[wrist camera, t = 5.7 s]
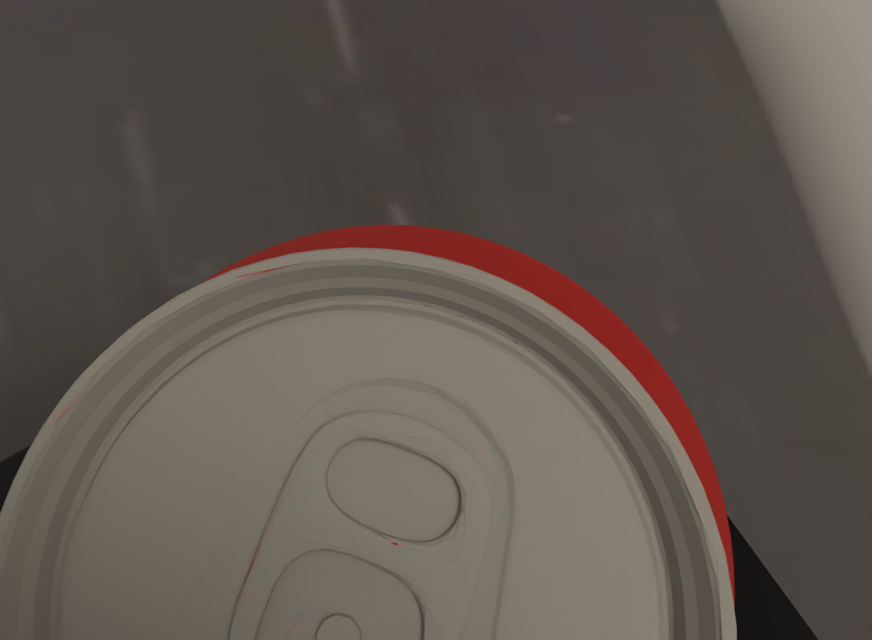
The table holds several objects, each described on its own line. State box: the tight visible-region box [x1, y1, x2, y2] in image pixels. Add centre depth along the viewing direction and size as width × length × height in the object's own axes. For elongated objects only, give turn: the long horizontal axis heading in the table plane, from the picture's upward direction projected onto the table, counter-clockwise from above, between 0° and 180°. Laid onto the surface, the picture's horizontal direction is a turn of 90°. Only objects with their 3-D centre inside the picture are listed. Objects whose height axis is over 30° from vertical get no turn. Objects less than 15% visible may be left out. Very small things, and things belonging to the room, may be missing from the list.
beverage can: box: [0, 225, 737, 640], centre depth 10 cm, size 7×7×12 cm
